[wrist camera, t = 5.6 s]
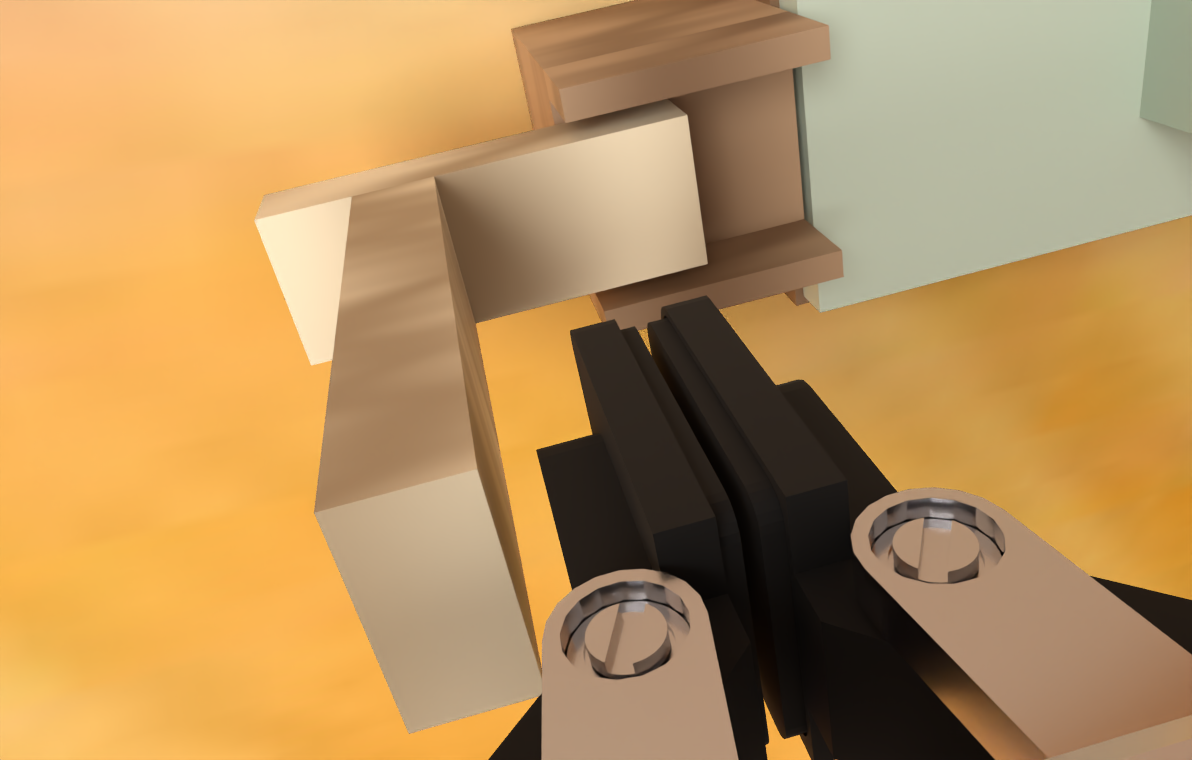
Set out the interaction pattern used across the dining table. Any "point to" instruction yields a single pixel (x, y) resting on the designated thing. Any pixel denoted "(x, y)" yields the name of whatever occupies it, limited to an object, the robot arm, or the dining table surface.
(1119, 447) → the dining table surface
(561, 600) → the robot arm
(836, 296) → the lid
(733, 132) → the toolbox
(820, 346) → the dining table surface
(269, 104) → the dining table surface
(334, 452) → the t-shaped block
